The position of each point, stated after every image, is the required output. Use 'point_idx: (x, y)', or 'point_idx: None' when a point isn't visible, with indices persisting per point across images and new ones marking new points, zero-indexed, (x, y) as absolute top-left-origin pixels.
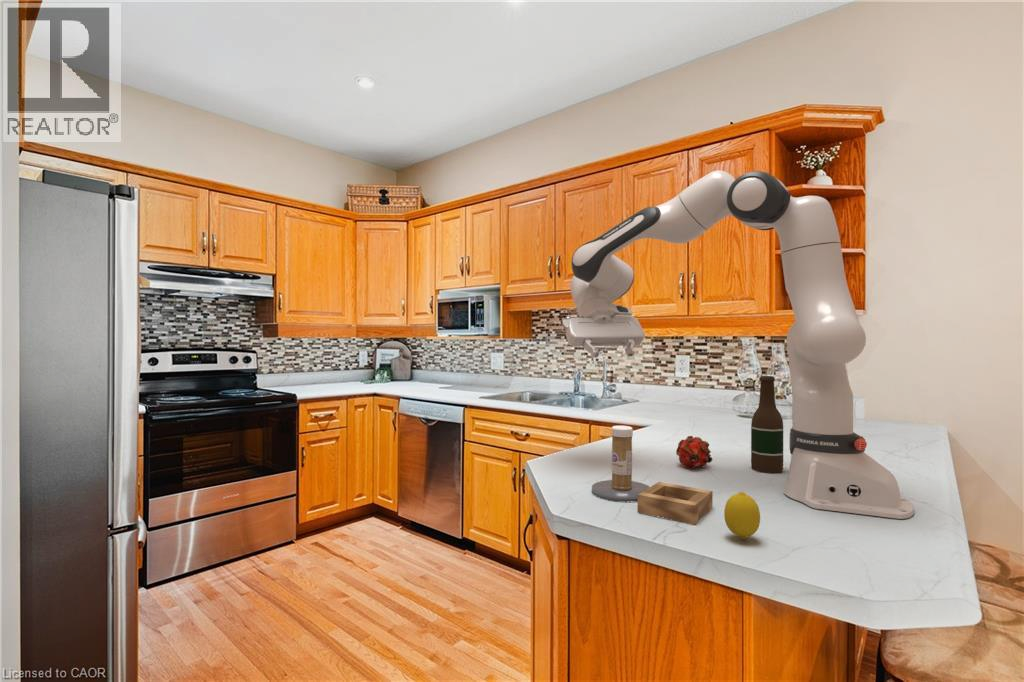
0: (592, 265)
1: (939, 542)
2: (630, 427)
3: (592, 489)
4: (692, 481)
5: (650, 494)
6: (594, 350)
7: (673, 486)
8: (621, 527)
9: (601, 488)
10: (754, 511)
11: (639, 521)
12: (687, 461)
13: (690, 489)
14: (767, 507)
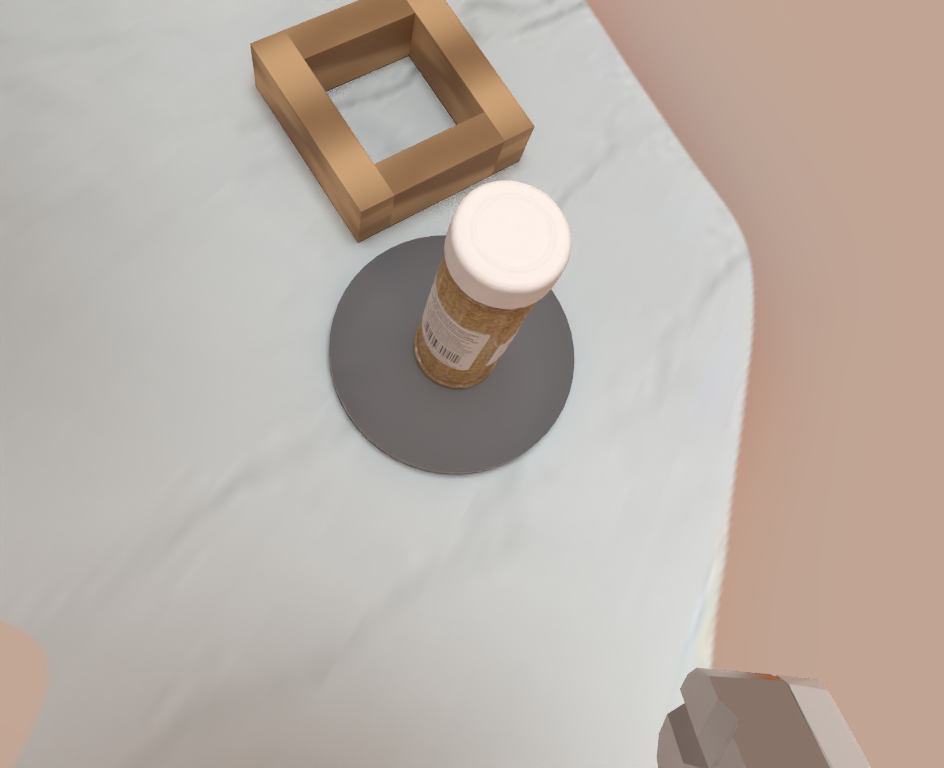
0: None
1: None
2: (472, 204)
3: (569, 388)
4: (36, 372)
5: (492, 108)
6: (818, 722)
7: (349, 141)
8: (626, 92)
9: (535, 375)
10: None
11: (554, 104)
12: None
13: (315, 89)
14: (56, 15)
